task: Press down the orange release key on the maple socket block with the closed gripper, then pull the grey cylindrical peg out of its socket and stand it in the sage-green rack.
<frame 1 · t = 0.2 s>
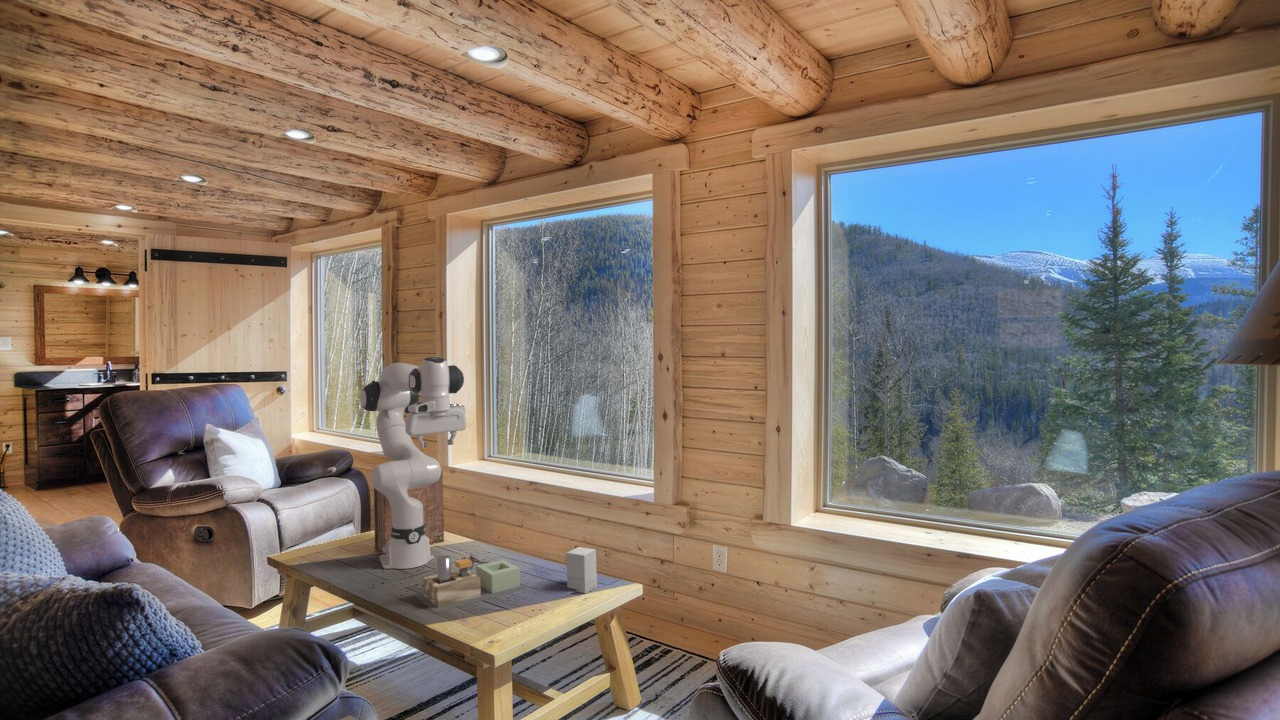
hand: (437, 446, 229), 47 cm above the table, tool pointing down, fingers open, 8 cm apart
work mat: (471, 594, 221), on the table
supplement box: (582, 589, 224), on the table
release key: (463, 569, 219), point 9 cm above the table, slide at 0.0 cm
grey cylindrical peg: (444, 595, 215), point 2 cm above the table, touching socket block
pliers: (474, 566, 251), on the table
rack: (498, 584, 227), resting on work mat
socket block: (452, 596, 217), resting on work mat
book: (410, 546, 277), on the table
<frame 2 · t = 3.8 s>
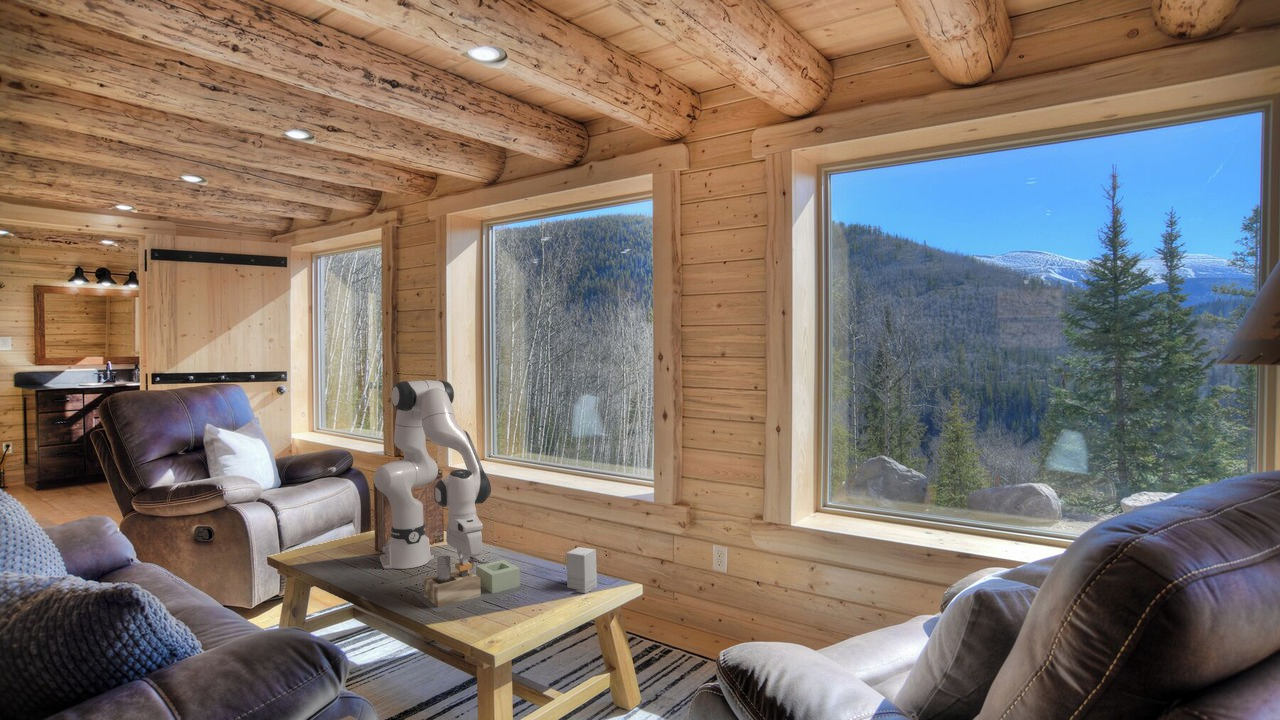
hand: (463, 563, 219), 11 cm above the table, tool pointing down, fingers closed, pressing on release key
release key: (463, 572, 219), point 8 cm above the table, slide at 0.9 cm, touching gripper
everything else where it was.
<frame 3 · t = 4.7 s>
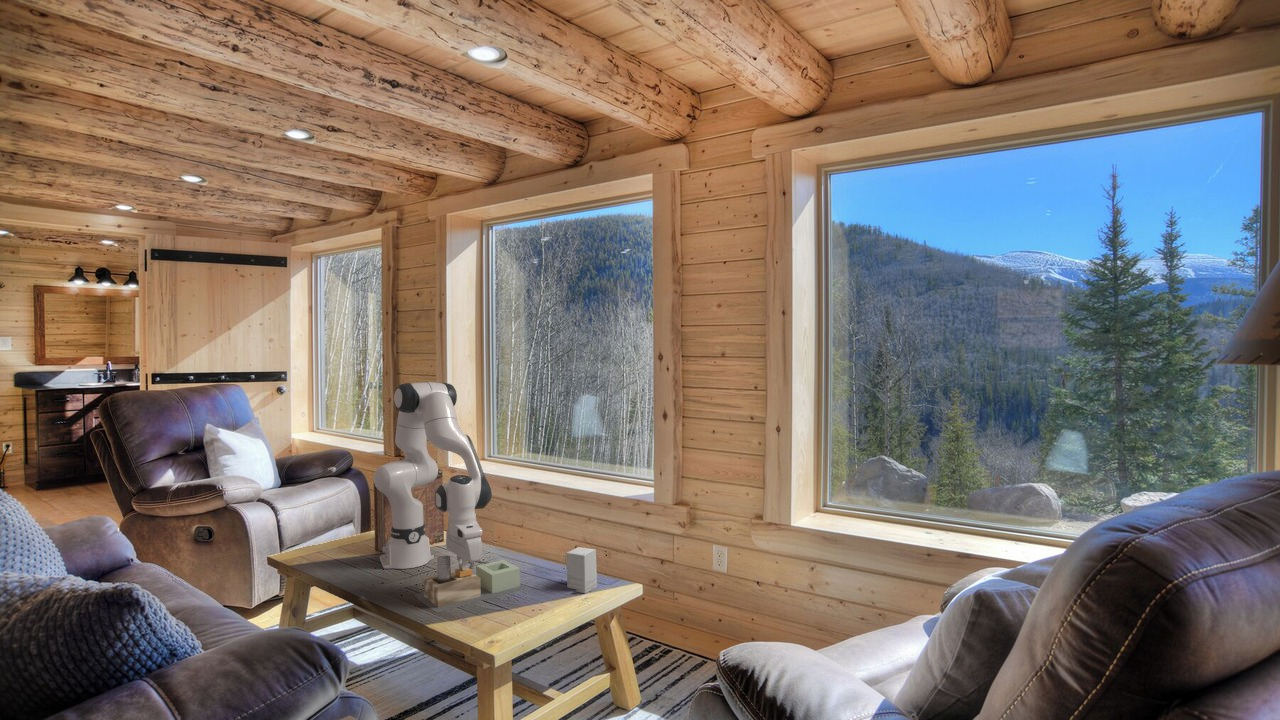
hand: (463, 569, 219), 9 cm above the table, tool pointing down, fingers closed
release key: (463, 578, 219), point 6 cm above the table, slide at 2.8 cm
everything else where it was.
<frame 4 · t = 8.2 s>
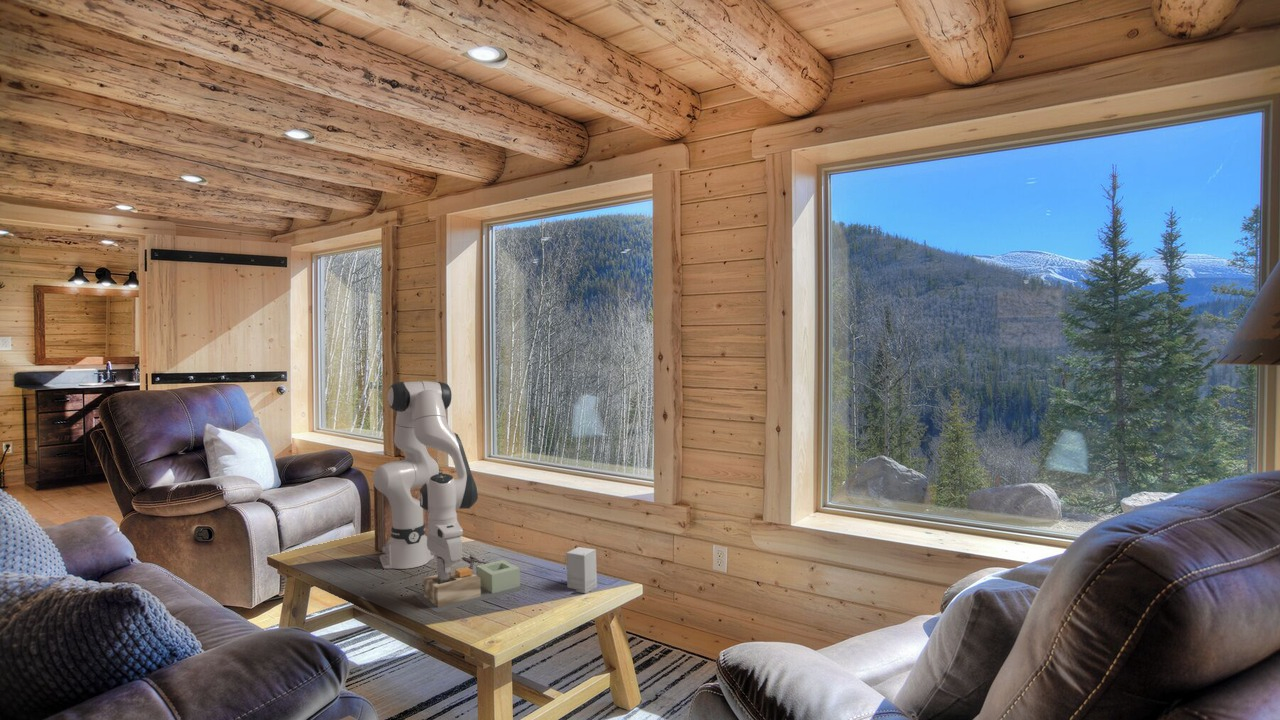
hand: (444, 569, 215), 10 cm above the table, tool pointing down, fingers closed on grey cylindrical peg, 4 cm apart
grey cylindrical peg: (444, 595, 215), point 2 cm above the table, touching gripper, socket block
everything else where it was.
when the fingers open (13 cm above the table, at t = 14.5 s): grey cylindrical peg drops 2 cm, resting on rack.
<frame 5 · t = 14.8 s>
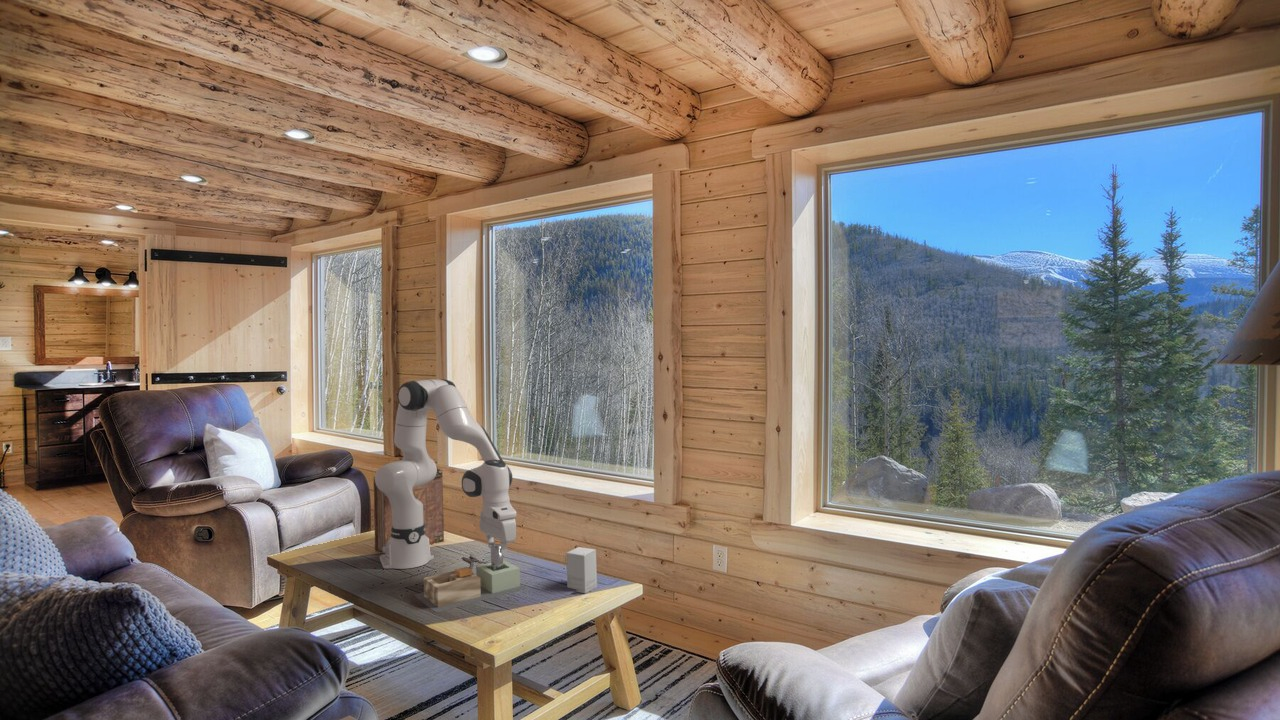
hand: (497, 550, 226), 13 cm above the table, tool pointing down, fingers open, 7 cm apart
grey cylindrical peg: (497, 581, 227), point 2 cm above the table, touching rack
everything else where it was.
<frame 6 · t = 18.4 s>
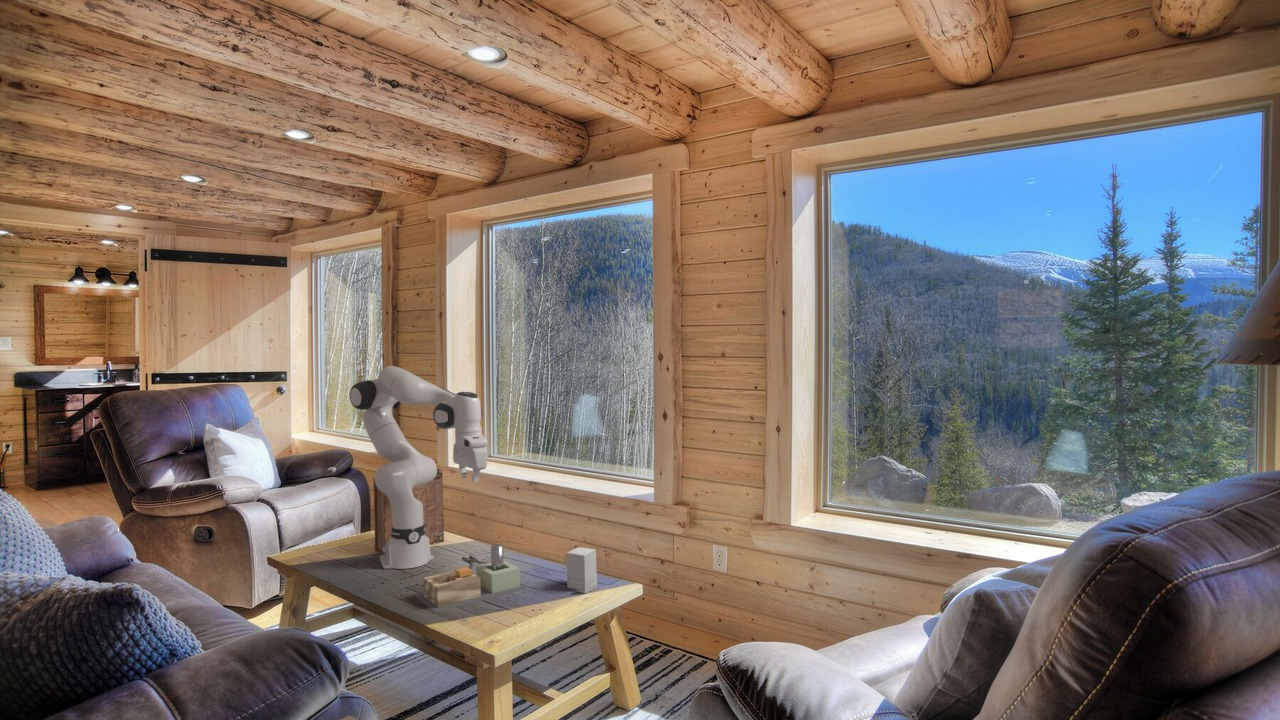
hand: (469, 479, 233), 35 cm above the table, tool pointing down, fingers open, 8 cm apart
nothing on the table moved.
at the end: release key slide at 2.8 cm; grey cylindrical peg 0.3 cm off-centre on the rack, point 1.0 cm above the rack's base; grey cylindrical peg tilted 0° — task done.
